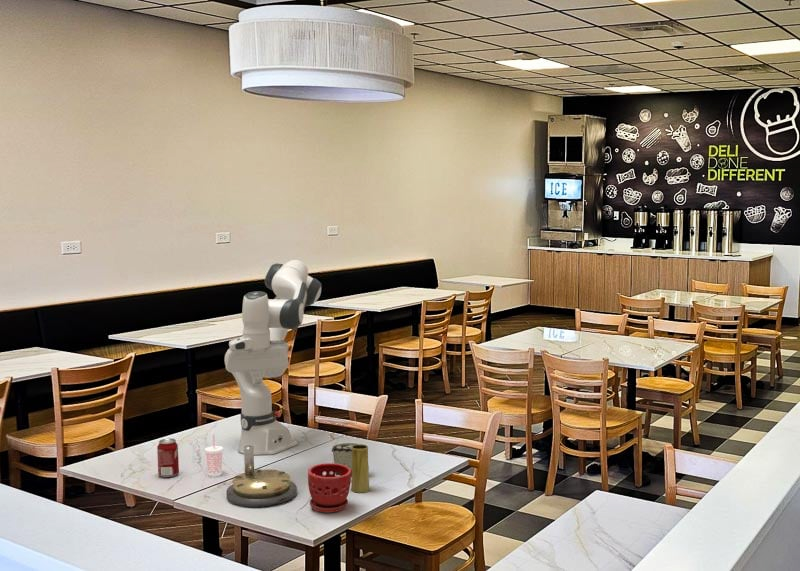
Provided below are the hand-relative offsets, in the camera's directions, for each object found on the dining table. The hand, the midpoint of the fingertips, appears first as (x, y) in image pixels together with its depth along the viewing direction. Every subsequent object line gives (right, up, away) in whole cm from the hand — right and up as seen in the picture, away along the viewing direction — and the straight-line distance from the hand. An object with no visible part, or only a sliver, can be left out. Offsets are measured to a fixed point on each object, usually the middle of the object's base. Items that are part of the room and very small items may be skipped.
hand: (257, 383), depth 273 cm
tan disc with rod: (+3, -32, -10) cm, 34 cm away
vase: (+34, -34, -5) cm, 48 cm away
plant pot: (+25, -36, -20) cm, 48 cm away
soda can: (-32, -33, +10) cm, 47 cm away
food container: (+30, -32, +10) cm, 45 cm away
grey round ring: (+3, -34, -10) cm, 36 cm away
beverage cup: (-16, -32, +11) cm, 38 cm away
